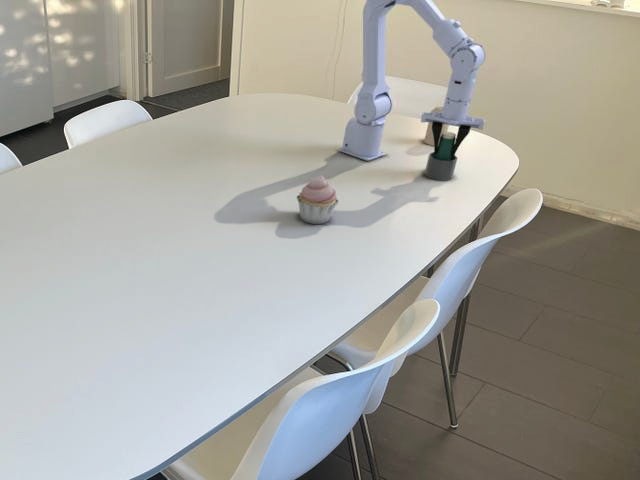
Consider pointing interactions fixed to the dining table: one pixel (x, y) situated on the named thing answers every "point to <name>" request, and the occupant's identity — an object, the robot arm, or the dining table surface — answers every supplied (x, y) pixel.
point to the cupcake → (317, 201)
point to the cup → (440, 168)
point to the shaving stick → (445, 146)
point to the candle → (429, 133)
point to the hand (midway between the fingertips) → (443, 153)
